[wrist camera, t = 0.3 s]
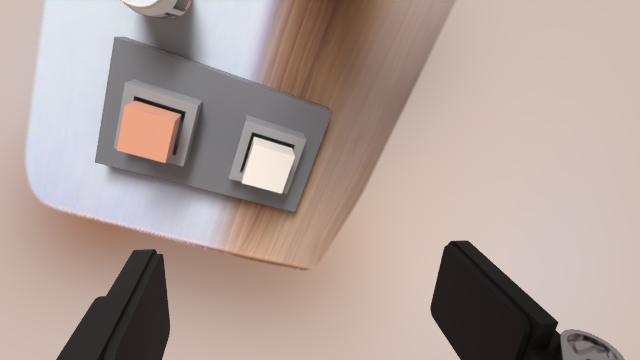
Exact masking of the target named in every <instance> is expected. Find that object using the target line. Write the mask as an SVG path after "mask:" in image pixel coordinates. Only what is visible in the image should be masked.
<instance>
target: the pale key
mask: <svg viewBox="0 0 640 360" xmlns="http://www.w3.org/2000/svg"><path fill="white" fill-rule="evenodd" d="M294 158H295V155H294V152H293V149H292V148H290V147H287V146H283V145H280V144H277V143H273V142H270V141H267V140H264V139H260V138H257V137H254V138H253V141H252V144H251V148H250V151H249V154H248V158H247V161H246V164H245V167H244V171H243V176H242V183H243V184H247V185H251V186H255V187H258V188H262V189H266V190H270V191H274V192H277V193H281V194H282V192H283V189H284V186H285V183H286V181H287V178H288V175H289V172H290V169H291V166H292V164H293V161H294Z"/></svg>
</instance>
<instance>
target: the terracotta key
mask: <svg viewBox="0 0 640 360" xmlns="http://www.w3.org/2000/svg"><path fill="white" fill-rule="evenodd" d="M180 118H181V114H178V113H175V112H171V111H168V110H165V109H161V108H158V107H155V106H151V105H148V104H145V103H142V102H138V101H133V102H131V103H129V104H127V105H125V106H124V111H123V117H122V123H121V128H120V134H119V140H118V145H117V151H121V152H125V153H129V154H133V155H136V156H140V157H144V158H148V159H152V160H155V161H159V162H163V163H166V162H167V160H168V159H169V157H170V156H171V155H172V153H173V149H174V144H175V140H176V136H177V131H178V127H179V123H180Z"/></svg>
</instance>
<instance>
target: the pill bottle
mask: <svg viewBox="0 0 640 360" xmlns="http://www.w3.org/2000/svg"><path fill="white" fill-rule="evenodd" d="M121 1H122V2H123V3H124V4H125V5H127V6H128V7H129V8H131V9H132V10H134V11H135V12H138V13H140V14H143V15H147V16H153V17H158V18H164V19H172V18H176V17H179V16H181V15H182V14H184V13H185V12H186V11H187V10H188V8H189V7H190V4H191V1H192V0H121Z"/></svg>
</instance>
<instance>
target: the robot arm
mask: <svg viewBox="0 0 640 360" xmlns="http://www.w3.org/2000/svg"><path fill="white" fill-rule="evenodd" d="M431 314H432V317H433V318H434V320H435V321H436V323H437V324H438V326H439V328H440V329H441V331H442V332H443V334H444V335H445V337H446V338H447V340H448V341H449V343H450V344H451V346H452V347H453V349H454V350H455V352H456V353H457V355H458V356H459V358H460V359H461V360H624V358H623V356H622V355H621V354H620V353H619V352H618V351H617V350H616V349H615V348H614V347H613V346H611V345H610V344H609V343H607V342H606V341H604V340H602V339H600V338H599V337H597V336H595V335H592V334H590V333H587V332H584V331H580V330H573V329H570V330H565V331H564V332H562V333H561V335H560V334H559V333H558V332H557V331H556V327H557V324H558V322H557V321H556V320H555V319H554V318H553V317H552V316H551V315H550V314H549V313H548V312H546V311H545V310H544V309H543V308H542V307H541V306H540V305H539V304H538V303H537V302H535V301H534V300H533V299H532V298H531V297H530V296H529V295H528V294H526V293H525V292H524V291H523V290H522V289H521V288H520V287H519V286H518V285H517V284H515V283H514V282H513V281H512V280H511V279H510V278H509V277H508V276H507V275H505V274H504V273H503V272H502V271H501V270H500V269H499V268H498V267H497V266H496V265H494V264H493V263H492V262H491V261H490V260H489V259H488V258H487V257H486V256H485V255H483V254H482V253H481V252H480V251H479V250H478V249H477V248H476V247H475V246H473V245H472V244H471V243H470V242H469V241H451V242H450V243H449V244H448V245H447V246H445V248H444V251H443V255H442V259H441V264H440V269H439V272H438V277H437V282H436V285H435V290H434V294H433V299H432V303H431ZM169 331H170V320H169V310H168V300H167V289H166V279H165V269H164V259H163V255H162V254H157V252H156V250H155V249H153V250H134V251H133V252H132V254H131V256H130V257H129V259H128V261H127V262H126V264H125V266H124V267H123V269H122V270H121V272H120V274H119V276H118V277H117V279H116V280H115V282H114V284H113V285H112V287H111V289H110V290H109V292H108V294H107V295H106V296H103V297H98V298H96V299H95V300H94V302H93V303H92V304H91V306H90V308H89V309H88V311H87V312H86V314H85V315H84V317H83V318H82V320H81V322H80V323H79V325H78V326H77V328H76V329H75V331H74V333H73V334H72V336H71V337H70V339H69V341H68V342H67V344H66V345H65V347H64V348H63V350H62V351H61V353H60V355H59V356H58V358H57V359H56V360H162V357H163V354H164V350H165V347H166V344H167V341H168V337H169Z"/></svg>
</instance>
